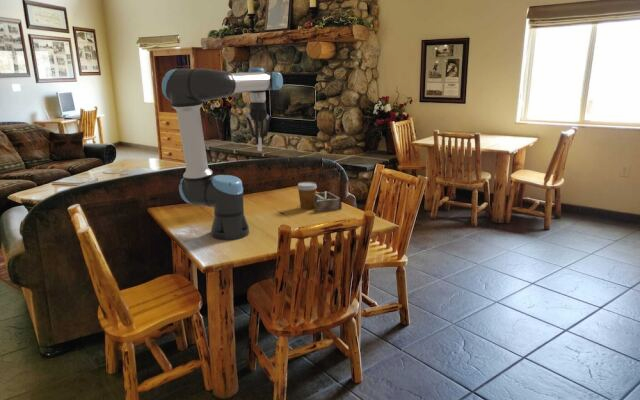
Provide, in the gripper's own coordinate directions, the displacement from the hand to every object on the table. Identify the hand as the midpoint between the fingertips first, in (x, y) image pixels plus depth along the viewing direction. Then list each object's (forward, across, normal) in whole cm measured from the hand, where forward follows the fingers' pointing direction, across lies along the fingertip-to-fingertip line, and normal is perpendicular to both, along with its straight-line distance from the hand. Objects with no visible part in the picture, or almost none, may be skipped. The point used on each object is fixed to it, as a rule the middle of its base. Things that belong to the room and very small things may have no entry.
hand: (259, 150), depth 221 cm
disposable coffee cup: (+27, +18, -18) cm, 37 cm away
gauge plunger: (+26, +26, -18) cm, 42 cm away
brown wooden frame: (+26, +27, -18) cm, 42 cm away
